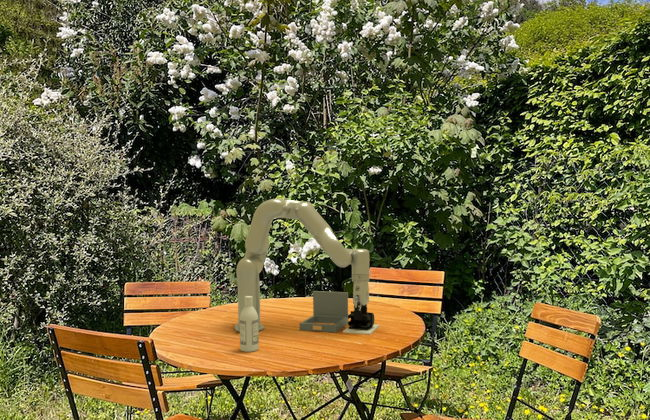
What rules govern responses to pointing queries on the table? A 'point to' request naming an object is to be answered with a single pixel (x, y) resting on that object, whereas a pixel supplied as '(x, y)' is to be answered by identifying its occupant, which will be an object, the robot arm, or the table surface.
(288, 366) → the table surface
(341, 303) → the equipment case
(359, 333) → the grey mat
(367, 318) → the end cap
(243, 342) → the bath foam
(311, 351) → the table surface
